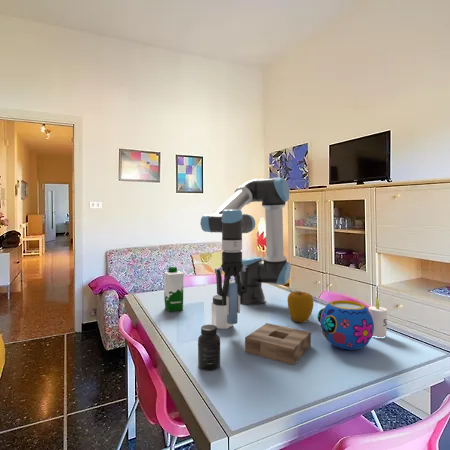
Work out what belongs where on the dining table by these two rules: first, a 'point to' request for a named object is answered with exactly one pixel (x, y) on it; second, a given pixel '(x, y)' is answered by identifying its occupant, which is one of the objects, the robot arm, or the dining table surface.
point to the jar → (219, 313)
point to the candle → (379, 319)
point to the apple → (300, 306)
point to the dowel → (232, 303)
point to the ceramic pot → (346, 324)
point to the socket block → (278, 343)
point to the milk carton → (173, 289)
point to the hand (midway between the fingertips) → (232, 312)
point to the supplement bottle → (209, 348)
